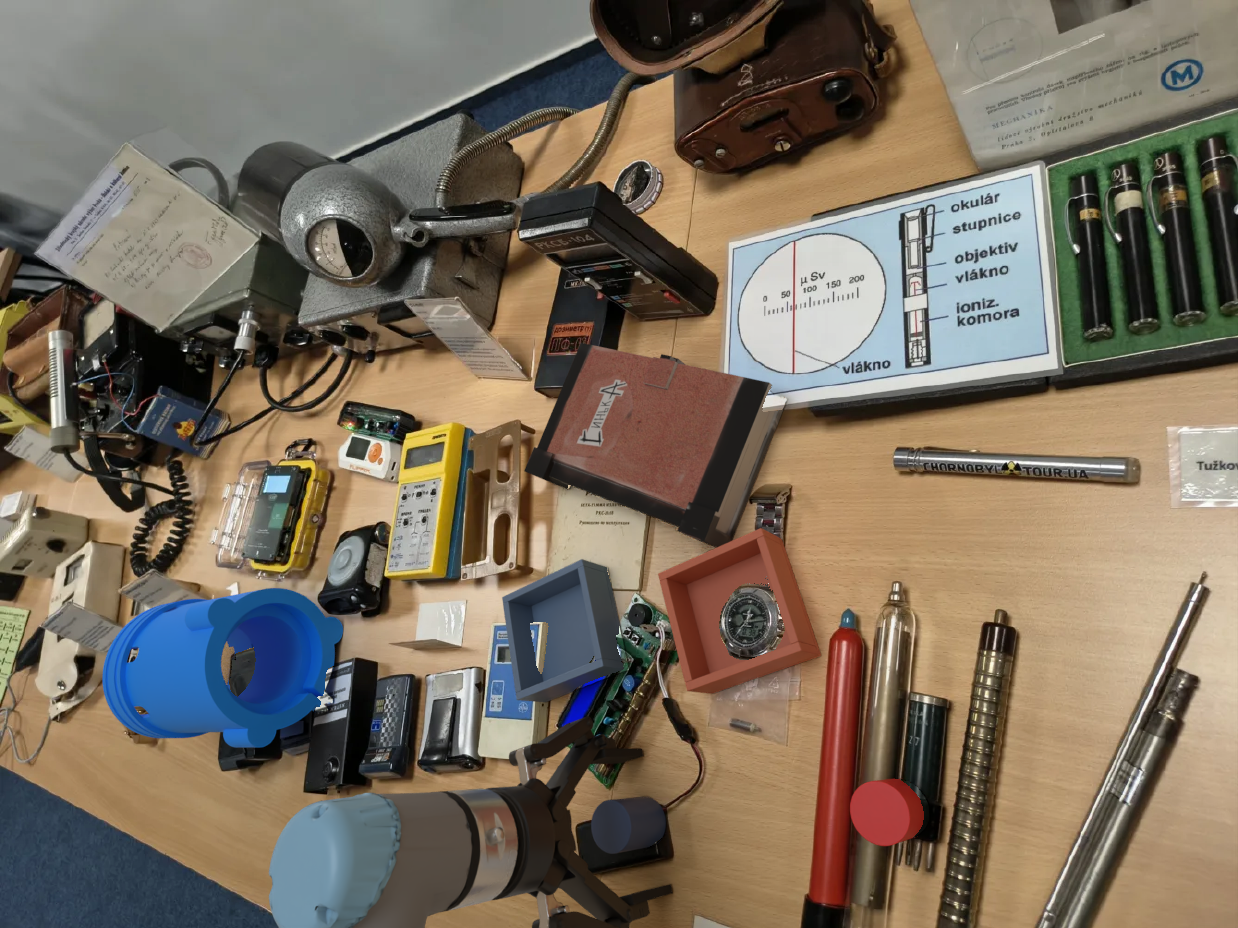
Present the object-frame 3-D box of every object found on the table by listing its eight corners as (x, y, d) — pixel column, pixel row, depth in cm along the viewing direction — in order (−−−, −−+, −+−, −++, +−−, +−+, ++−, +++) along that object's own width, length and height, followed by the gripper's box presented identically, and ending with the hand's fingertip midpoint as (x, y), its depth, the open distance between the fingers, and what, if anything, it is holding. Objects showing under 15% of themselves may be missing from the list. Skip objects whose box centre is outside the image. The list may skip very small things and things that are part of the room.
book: (790, 392, 77) (770, 374, 74) (727, 551, 76) (704, 541, 72) (604, 352, 94) (580, 335, 90) (551, 482, 93) (524, 471, 89)
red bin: (821, 655, 68) (801, 650, 64) (711, 694, 73) (686, 691, 69) (782, 538, 73) (761, 527, 70) (682, 581, 78) (657, 573, 74)
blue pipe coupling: (269, 658, 123) (187, 770, 110) (165, 570, 113) (60, 681, 99) (368, 647, 110) (289, 773, 97) (260, 546, 100) (155, 670, 86)
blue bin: (630, 669, 79) (603, 665, 75) (545, 702, 84) (516, 700, 80) (607, 567, 84) (581, 558, 80) (529, 603, 89) (501, 596, 85)
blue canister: (670, 841, 71) (635, 848, 66) (632, 851, 73) (596, 858, 68) (659, 791, 73) (625, 794, 68) (623, 802, 75) (587, 805, 70)
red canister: (939, 831, 59) (919, 838, 54) (885, 843, 61) (862, 851, 56) (917, 772, 61) (896, 774, 56) (865, 785, 63) (841, 788, 58)
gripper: (550, 1032, 48) (711, 959, 65) (501, 668, 60) (649, 686, 77) (466, 1044, 52) (640, 971, 69) (435, 696, 63) (591, 707, 80)
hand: (645, 820), depth 73 cm, fingers open, 11 cm apart
